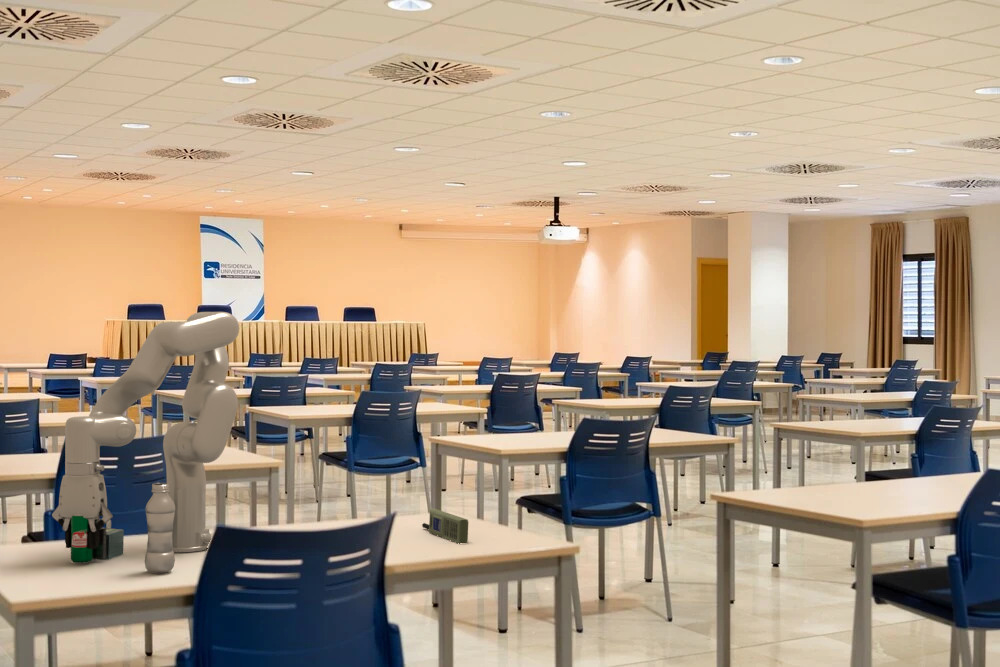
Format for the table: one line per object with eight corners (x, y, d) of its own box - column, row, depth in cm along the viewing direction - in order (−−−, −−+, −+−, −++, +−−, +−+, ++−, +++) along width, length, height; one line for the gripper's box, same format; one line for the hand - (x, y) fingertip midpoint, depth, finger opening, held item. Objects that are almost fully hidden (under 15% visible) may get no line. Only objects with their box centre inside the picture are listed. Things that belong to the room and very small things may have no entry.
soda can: (69, 564, 257) (69, 512, 257) (71, 559, 262) (71, 508, 262) (92, 563, 258) (92, 511, 258) (94, 558, 263) (94, 508, 263)
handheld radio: (457, 545, 288) (418, 530, 310) (469, 544, 290) (428, 529, 312) (458, 519, 288) (419, 506, 310) (470, 519, 290) (430, 505, 312)
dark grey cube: (108, 559, 265) (108, 534, 265) (81, 558, 267) (81, 533, 267) (123, 554, 272) (123, 529, 272) (96, 553, 273) (97, 528, 273)
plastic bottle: (163, 568, 256) (164, 481, 256) (180, 572, 252) (181, 483, 252) (138, 572, 251) (139, 484, 251) (155, 577, 247) (156, 486, 247)
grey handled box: (103, 559, 262) (103, 526, 262) (71, 557, 263) (72, 524, 263) (124, 551, 272) (124, 519, 272) (93, 550, 273) (94, 518, 273)
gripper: (124, 468, 262) (124, 545, 262) (57, 466, 265) (57, 543, 265) (108, 472, 255) (107, 551, 255) (39, 470, 258) (39, 549, 258)
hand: (82, 546), depth 260 cm, fingers closed on soda can, 5 cm apart
